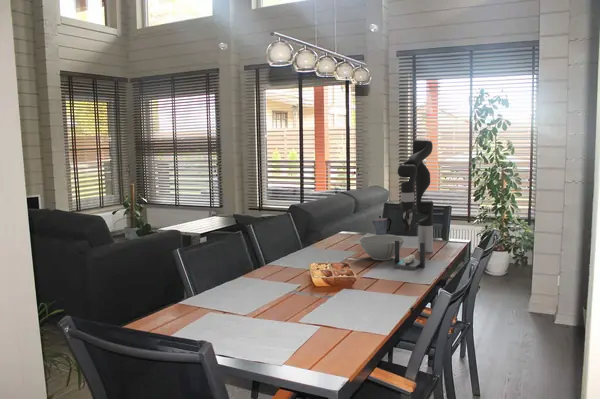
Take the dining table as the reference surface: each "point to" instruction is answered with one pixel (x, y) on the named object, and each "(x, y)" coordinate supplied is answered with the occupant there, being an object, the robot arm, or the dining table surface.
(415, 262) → the panel
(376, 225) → the moka pot
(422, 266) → the cord post
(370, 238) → the decorative bowl
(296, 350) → the dining table surface
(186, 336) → the dining table surface
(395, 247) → the dark gray rounded rod
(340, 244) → the dining table surface
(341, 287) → the dining table surface
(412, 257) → the paddles
